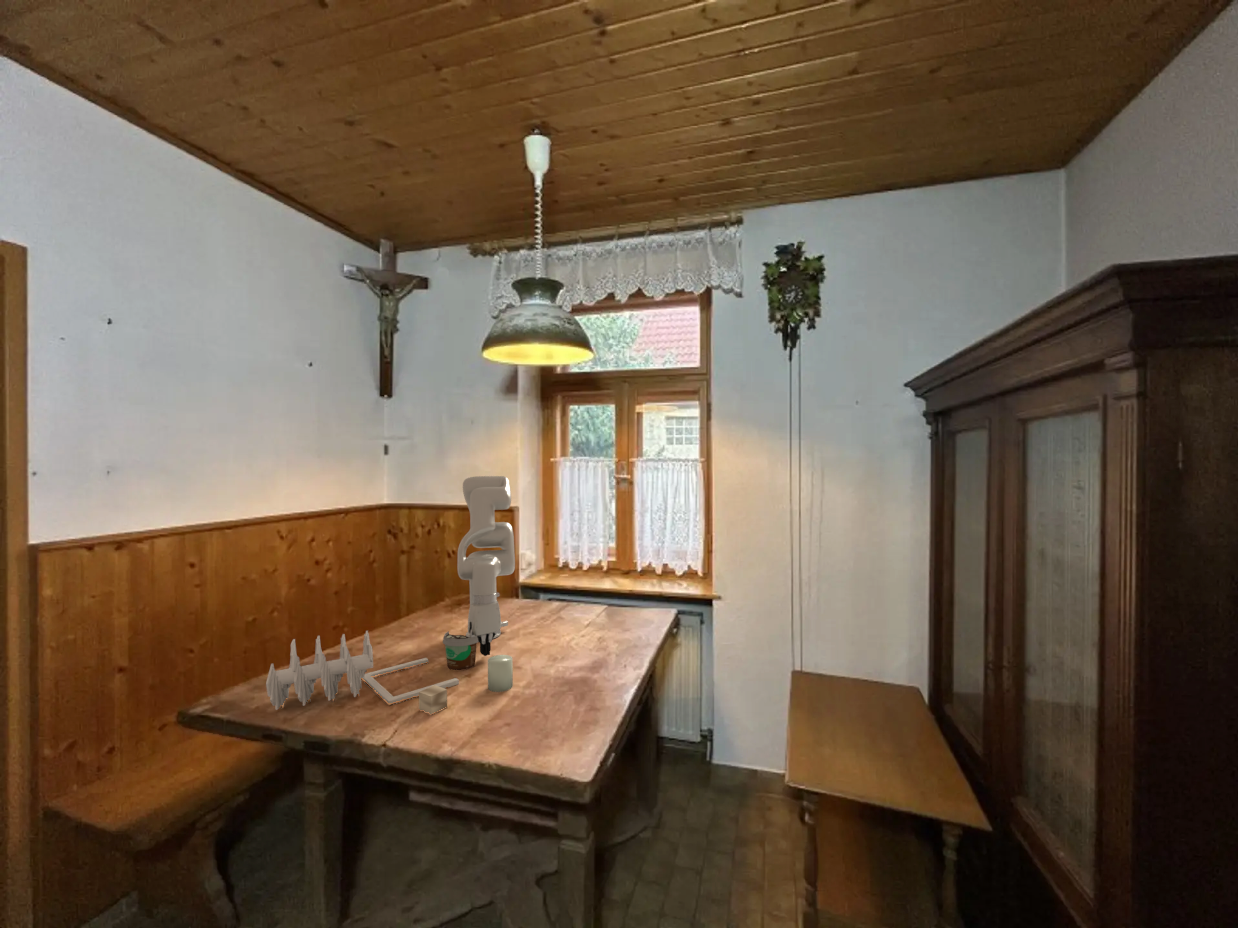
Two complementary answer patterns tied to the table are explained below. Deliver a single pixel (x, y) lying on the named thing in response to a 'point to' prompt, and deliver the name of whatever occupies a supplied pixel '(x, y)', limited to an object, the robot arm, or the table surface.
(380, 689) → the corral
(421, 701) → the birch block
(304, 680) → the spiral staircase
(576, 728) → the table surface
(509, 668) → the pale green cylinder
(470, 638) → the food container
